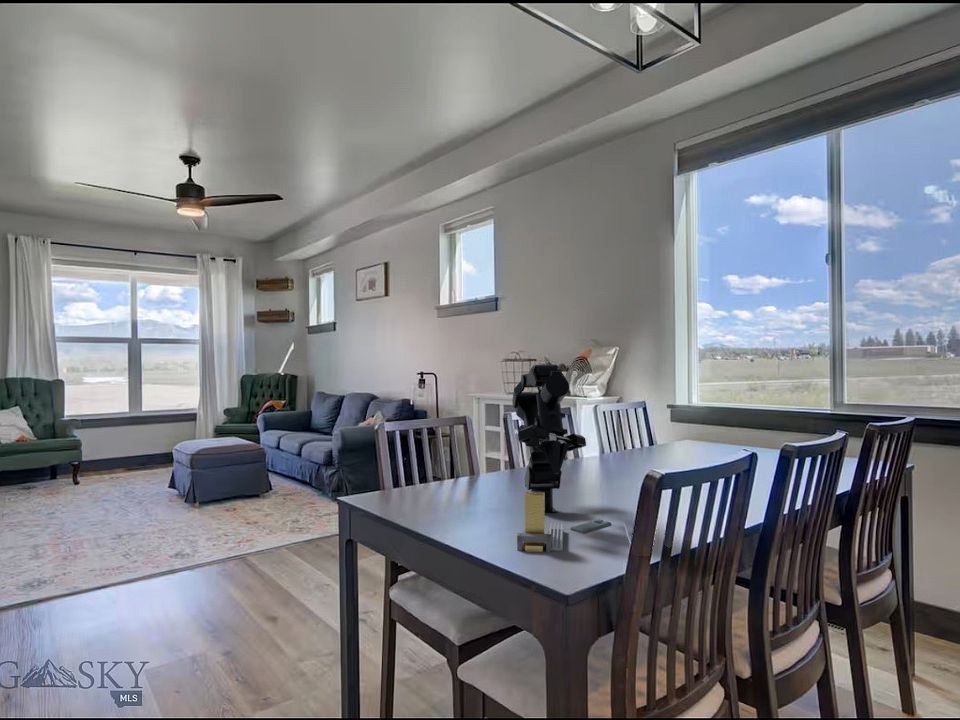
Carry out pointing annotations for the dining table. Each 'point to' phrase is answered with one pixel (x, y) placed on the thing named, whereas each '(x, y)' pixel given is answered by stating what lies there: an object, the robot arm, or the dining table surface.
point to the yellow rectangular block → (534, 519)
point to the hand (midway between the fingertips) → (556, 473)
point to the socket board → (543, 539)
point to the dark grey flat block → (590, 526)
